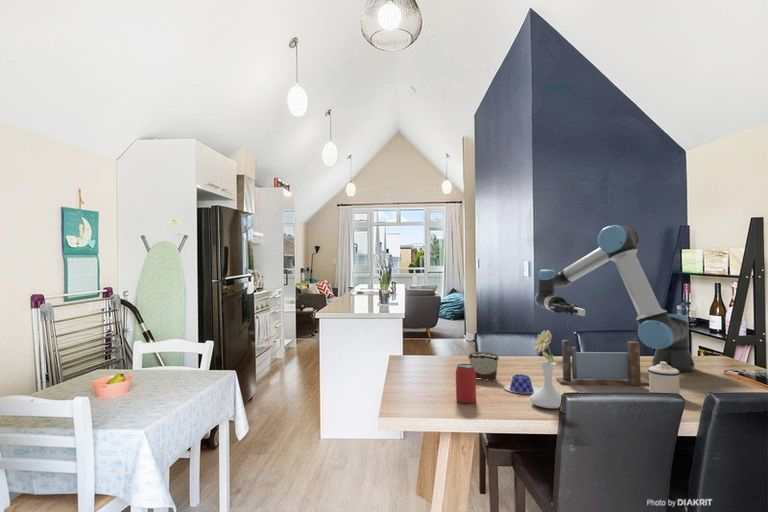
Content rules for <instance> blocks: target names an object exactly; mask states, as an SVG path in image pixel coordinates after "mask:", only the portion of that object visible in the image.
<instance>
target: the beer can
mask: <svg viewBox="0 0 768 512" xmlns="http://www.w3.org/2000/svg"><path fill="white" fill-rule="evenodd" d="M476 382H477V379H476V373H475V369H474V366H473V365H471V364H470V363H458V364H457V365H456V370H455V397H456V399H455V400H456V401H457V402H458V403H459V404H465V403H466V404H468V405H469V403H470V404H473V403H475V402H476V401H477V386H476V385H477V383H476ZM466 404H465V405H466Z"/></svg>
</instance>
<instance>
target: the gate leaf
mask: <svg viewBox="0 0 768 512" xmlns="http://www.w3.org/2000/svg"><path fill="white" fill-rule="evenodd" d="M571 378H572V379H612V380H628V354H627V352H620V351H619V352H617V351H616V352H613V351H612V352H611V351H610V352H609V351H607V352H605V351H604V352H602V351H600V352H599V351H595V352H594V351H579V352H578V351H577V347H576V346H572V347H571Z"/></svg>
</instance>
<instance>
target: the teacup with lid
mask: <svg viewBox="0 0 768 512" xmlns="http://www.w3.org/2000/svg"><path fill="white" fill-rule="evenodd" d="M680 374H681V372H679V371H678V370H677V369H675V368H672V367H671V366H669V365H667V363H666V362H660V364H658V365H656V366H652V365H651V366H649V367H648V369H647V372H646V379H647V380H646V381H648V382H649V386H648V389H649V392H662V393H678V394H680ZM680 395H681V394H680Z"/></svg>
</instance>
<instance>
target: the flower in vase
mask: <svg viewBox="0 0 768 512" xmlns="http://www.w3.org/2000/svg"><path fill="white" fill-rule="evenodd" d="M540 333H541V334H537V337H536V341H535V342H534V345H535V346H534V351H536V353H542V356H543V358H545V359H547V360H545V361H544V360H543V361H540V362H539V365H540V366H541V368H542V371H543V375H544V380H543V382H544V383H543V385H542V387H540V388H538V389H539V390H538V391H536V392H535V393H532V394H531V395H530V398H529V400H530V402H531V403H532V404H534V405H535V406H537V407H540V408H544V409H560V408H559V406H560V399H561V395H563V394H562V393H561V392H560V391H559V390H557V389H556V388H555V387H554V385H553V379H552V378H553V376H552V375H553V370H554V367H555V366H556V365H557V363H556V362H555V361H554V355H553V354H552V352H551V349H550V346H549V345H550V343H551V341H552V337H553V335H552V333H551V332H550V330H548V329H547V330H545V329H544V330H543V331H541V332H540ZM546 349H548V351H549V354H548V353H547V352H546V351H545V350H546Z"/></svg>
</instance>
